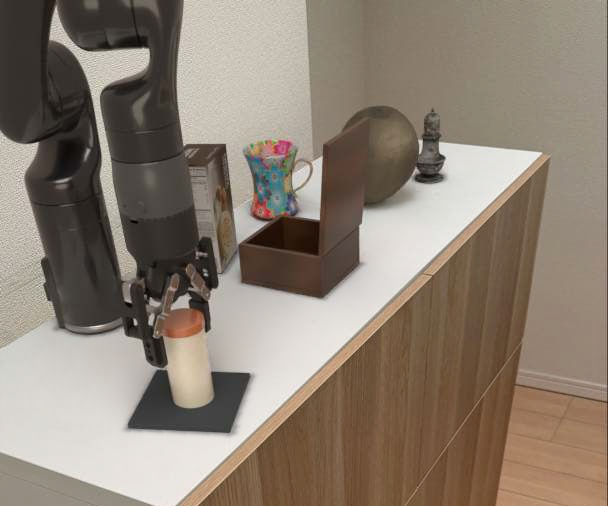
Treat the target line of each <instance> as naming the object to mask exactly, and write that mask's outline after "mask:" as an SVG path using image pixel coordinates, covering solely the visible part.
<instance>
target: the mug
mask: <svg viewBox="0 0 608 506" xmlns="http://www.w3.org/2000/svg"><path fill="white" fill-rule="evenodd" d="M298 152H299V146H298V144H297V143H295V142H293V141H290V140H285V139H268V140H260V141H256V142H252V143H249V144H247V145H245V146H244V147H243V148H242V155H243V156H244V158H245V160H246V163H247V165H248V168H249V171H250V174H251V179H252V184H253V195H252V201H251V205H250V213H252V215H254V216H255V217H258V218H261V219H266V220H267V219H269V220H273V219H274V218H276V217H277V216H279V215H280V214H283V215H289V216H293V214H295V213H297V211H298V210H299V207H300V205H299V203H298V201H297V198H298V195H297V193H296V192H298V191H300V190H301V189H303V188H304V187H305V186H306V185H307V184H308V183H309V181H310V180H311V178H312V176H313V173H314V165H313V163H312V161H311V160H310V159H309V158H306V157H300V158H298V159H296V158H297V157H296V156H297V153H298ZM300 162H305V163H306V164H308V166H309V174H308V176H307V178H306V179H305V181H304V182H303V183H302V184H301V185H299V186H297V187H296V188H294V187H293V186H294V185H293V172H294V171H295V168H296V165H297V164H298V163H300Z"/></svg>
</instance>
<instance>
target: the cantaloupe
mask: <svg viewBox="0 0 608 506" xmlns="http://www.w3.org/2000/svg"><path fill="white" fill-rule="evenodd" d="M364 117H369V118H371V119H370V131H369V144H368V156H367V168H366V180H365V192H364V204H367V205H368V204H369V205H370V204H371V205H372V204H377V203H378V204H379V203H380V202H383V201H385V200H388V199H390V198H392V197H393V196H394V195H396V193H397V192H398V191H400V190H401V189H402V188H403V187H404V186H405V185H406V184H407V183H408V182H409V180H410V179H411V177H412V176H413V174H414V172H415V170H416V169H417V168H416V165H417V161H418V156H419V154H420V142H419V138H418V134H417V132H416V129H415V127H414V125H413V124H412V122H411V121H410V120H409V119H408V117H406V115H404V114H403V113H402V112H401V111H399V110H398V109H397V108H395V107H393V106H392V107H391V106H388V105H374V106H372V105H371V106H368V107H364V108H362V109H361V110H358V111H357V112H356V113H354V114H353V115H352V116H351V117H350V118H348V120H347V121H346V122H345V124H344V125H343V127H342V129H341V131H340V133H341V132H343V131H344V130H346V129H347V128H349V127H351V126H352V125H354V124H355V123H357V122H358V121H360V120H361V119H363V118H364Z"/></svg>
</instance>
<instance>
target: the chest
mask: <svg viewBox="0 0 608 506" xmlns="http://www.w3.org/2000/svg"><path fill="white" fill-rule="evenodd" d="M319 228H320V219H316V218H315V219H314V218H308V217H303V216H295V215H283V214H280V215H279V216H277V217H276V218H274V219H271V220H270V221H269V222H267V223H266V224H264V225H263V226H262V227H261V228H259V229H257V230H256V231H255V232H253V233H252V234H250V235H249V236H248V237H247V238H245V239H243V240H242V241H241V242H239V243H237V247H238V249H237V251H238V257H239V258H238V259H239V268H240V278H241V283H243V284H248V285H252V286H253V285H254V286H258V287H262V288H268V289H274V290H278V291H284V292H288V293H294V294H299V295H303V296H304V295H305V296H308V297H309V296H310V297H315V298H319V299H323V298H324V297H325V296H326V295H328V293H330V292H331V291H332V290H333V289H334V288H335V287H336V286H337V285H338V284H339V283H340V282H341V281H342V280H344V279H345V278H346V277H347V276H348V275H350V273H351V272H352V271H354V270H355V269H356V268H357V267H358V266H359V265H360V226H358V227H357V228H356V229H355V230H354V231H352V232H351V233H350V234H349V235H348V236H346V237H345V238H344V239H343V240H342V241H341V242H339V243H338V244H337V245H336V246H335V247H333V248H332V249H331V250H330V251H329V252H327V253H326V254H325V255H324V256H321V255H318V251H319Z"/></svg>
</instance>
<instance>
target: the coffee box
mask: <svg viewBox="0 0 608 506" xmlns="http://www.w3.org/2000/svg"><path fill="white" fill-rule="evenodd" d="M183 146H184V151H185V156H186V160H187V163H188V167H189V171H190V176H191V183H192V190H193V197H194V204H195V212H196V219H197V226H198V233H199V235H200V236H205V237H210V238H211V239H212V244H213V250H214V256H215V262H216V268H217V274H222V273H224V271H225V269H227V266H228V265H229V263H230V261H231V260H232V258H233V257H234V255H236V252H237V251H238V239H237V231H236V222H235V213H234V204H233V196H232V188H231V187H232V186H231V180H230V178H231V177H230V168H229V160H228V151H227V143H186V144H185V145H183ZM203 272H204V273H207V270H206V269H203Z"/></svg>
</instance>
